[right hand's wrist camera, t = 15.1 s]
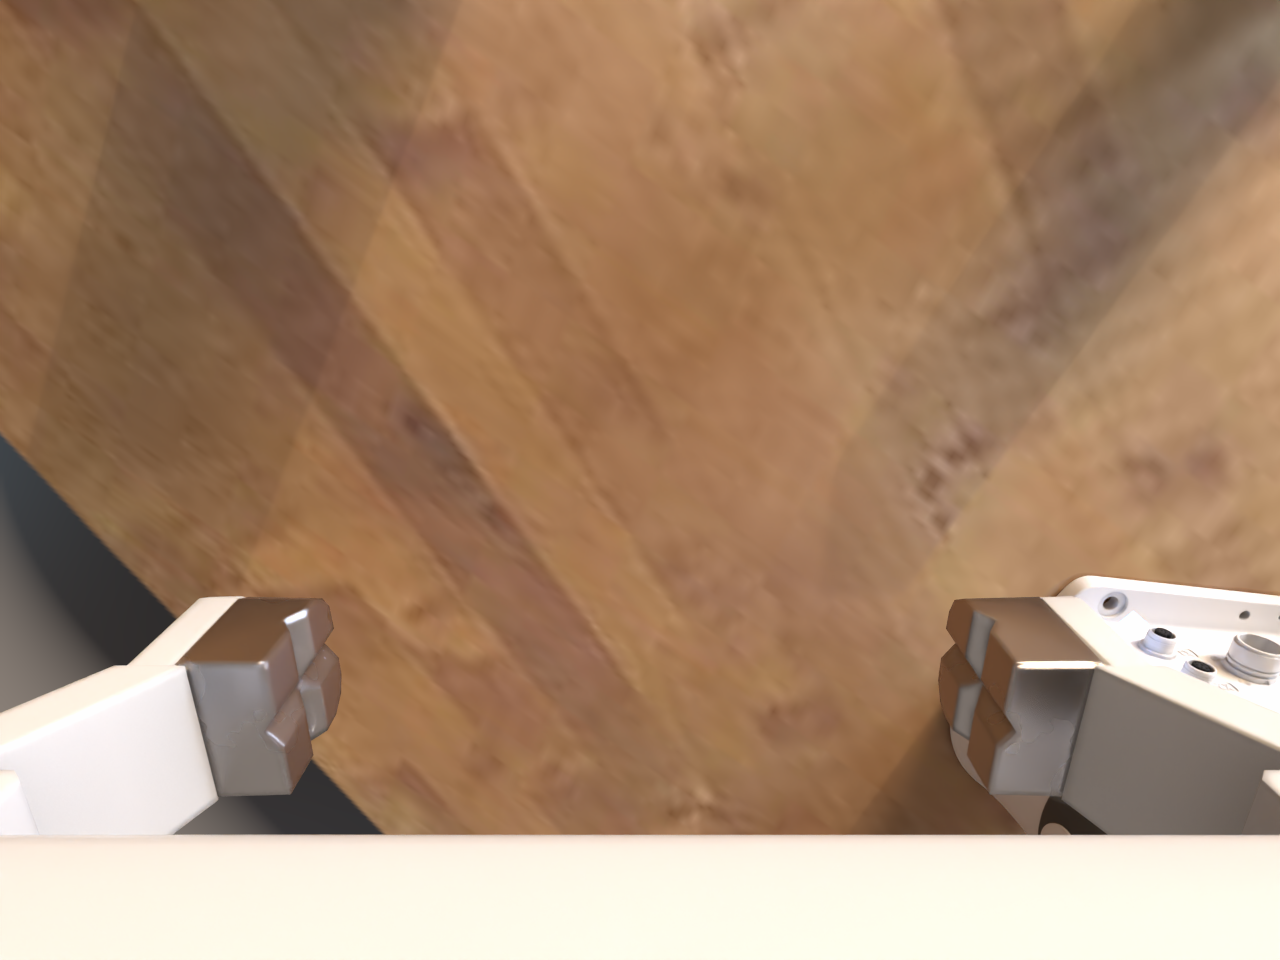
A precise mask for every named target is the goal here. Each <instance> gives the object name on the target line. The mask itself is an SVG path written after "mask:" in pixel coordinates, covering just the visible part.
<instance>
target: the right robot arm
mask: <svg viewBox="0 0 1280 960" xmlns="http://www.w3.org/2000/svg"><path fill="white" fill-rule="evenodd" d="M1108 597H1111V598H1110V599H1109V601H1107V602H1106V603H1103V602H1104V600H1105V599H1107V598H1108ZM333 629H334V627H333V622H332V617H331V612H330V607H329V605H328V604H327V603H326V602H325V601H324V600H323V599H322V598H278V597H243V596H228V597H206V598H199V599H198V600H197V601H196V602H195V603H194V604H193V605H192V606H191V607H190V608H188V609H187V610H186V611H185V612H184V613H183V614H182V615H181V616H180V617H179V618H178V619H177V620H176V621H175V622H173V623H172V624H171V625H170V626H169V627H168V628H167V629H166V630H165V631H164V632H163V633H162V634H161V635H159V636H158V637H157V638H156V639H155V640H154V641H153V642H152V643H151V644H150V645H149V646H148V647H147V648H145V649H144V650H143V651H142V652H141V653H140V654H139V655H138V656H137V657H136V658H135V659H134V660H133V661H131V662H130V663H129V664H128V665H127V666H112V667H110V668H107V669H105V670H103V671H100V672H98V673H95V674H93V675H90V676H88V677H86V678H83V679H81V680H79V681H76V682H74V683H71V684H69V685H66V686H64V687H62V688H59V689H57V690H54V691H52V692H50V693H47V694H45V695H42V696H40V697H38V698H35V699H33V700H30V701H28V702H25V703H23V704H21V705H18V706H16V707H14V708H11V709H9V710H6V711H4V712H1V713H0V960H1280V596H1276V595H1266V594H1257V593H1248V592H1239V591H1230V590H1220V589H1211V588H1202V587H1193V586H1183V585H1174V584H1165V583H1156V582H1146V581H1137V580H1128V579H1119V578H1110V577H1100V576H1083V577H1079V578H1077V579H1075V580H1074V581H1072V582H1071V583H1069V584H1068V585H1067V586H1066V587H1065V588H1064V589H1063V590H1062V591H1061V592H1060V593H1059V594H1058V595H1057V596H1056V597H1017V598H976V599H959V600H954V602H953V604H952V607H951V609H950V611H949V615H948V621H947V626H946V629H947V631H948V632H949V634H950V635H951V637H952V638H953V640H954V641H955V644H954V645H953V646H952V647H951V648H950V649H949V650H948V651H947V653H946V654H945V655H944V656H943V657H942V658H941V663H940V671H939V679H938V682H939V693H940V702H941V705H942V708H943V712H944V715H945V717H946V719H947V721H948V723H949V725H950V735H951V741H952V745H953V748H954V751H955V754H956V756H957V758H958V760H959V762H960V763H961V765H962V766H963V768H964V769H965V770H966V771H967V773H968V774H969V775H970V776H971V777H972V778H973V779H974V780H976V781H977V782H978V783H979V784H980V785H982V786H983V787H984V788H985V789H986V790H987V791H988V793H989V794H992V795H993V796H994V797H995V798H996V799H997V800H998V801H999V802H1000V803H1001V805H1002V806H1003V807H1004V808H1005V809H1006V810H1007V811H1008V812H1009V813H1010V814H1011V816H1012V817H1013V818H1014V819H1015V820H1016V822H1017V823H1018V824H1019V825H1020V826H1021V828H1022V829H1023V830H1024V831H1025V833H1026V834H1027V835H173V834H174V833H175V832H177V831H178V830H179V829H181V828H182V827H183V826H184V825H186V824H187V823H188V822H190V821H191V820H192V819H194V818H195V817H196V816H198V815H199V814H200V813H202V812H203V811H204V810H206V809H207V808H208V807H210V806H211V805H212V804H214V803H215V802H216V801H217V800H218V796H248V795H284V794H291V793H292V791H293V789H294V788H295V786H296V784H297V782H298V781H299V779H300V777H301V776H302V774H303V772H304V770H305V769H306V767H307V765H308V763H309V762H310V760H311V758H312V756H313V750H312V745H311V740H313V739H315V738H316V737H318V736H319V735H321V734H322V733H324V732H326V731H327V730H328V728H329V726H330V725H331V723H332V721H333V719H334V717H335V715H336V712H337V708H338V704H339V699H340V695H341V669H340V663H339V658H338V657H337V656H336V655H335V654H334V653H333V651H332V650H331V649H330V648H329V647H328V646H327V645H326V644H325V641H326V640H327V638H328V637H329V635H330V634H331V632H332V631H333Z"/></svg>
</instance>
